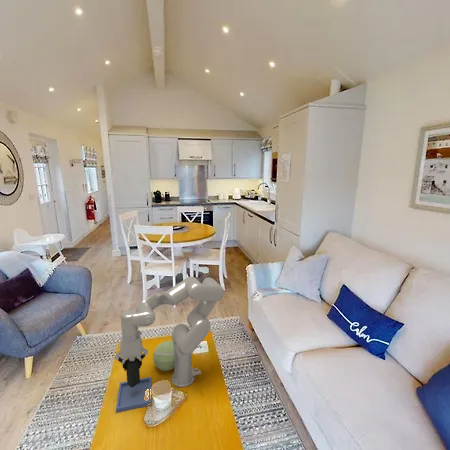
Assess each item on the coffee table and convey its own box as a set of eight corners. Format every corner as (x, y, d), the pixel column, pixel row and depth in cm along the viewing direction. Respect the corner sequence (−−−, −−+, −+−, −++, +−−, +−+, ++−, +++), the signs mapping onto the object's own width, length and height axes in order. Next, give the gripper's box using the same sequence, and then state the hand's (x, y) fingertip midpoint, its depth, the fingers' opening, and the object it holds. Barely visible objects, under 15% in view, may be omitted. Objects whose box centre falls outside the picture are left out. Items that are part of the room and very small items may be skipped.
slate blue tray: (151, 380, 143) (151, 376, 143) (151, 405, 128) (151, 401, 128) (120, 386, 139) (119, 382, 139) (116, 412, 124) (115, 409, 123)
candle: (135, 376, 135) (132, 333, 130) (141, 381, 132) (138, 337, 127) (126, 382, 131) (122, 338, 126) (131, 388, 128) (128, 342, 123)
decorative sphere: (183, 358, 160) (182, 336, 156) (176, 377, 145) (175, 354, 142) (159, 356, 161) (158, 335, 158) (150, 375, 146) (148, 352, 143)
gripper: (149, 328, 132) (150, 359, 136) (112, 333, 128) (115, 365, 131) (149, 337, 125) (150, 370, 129) (109, 343, 121) (112, 376, 124)
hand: (132, 367), depth 130 cm, fingers closed on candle, 6 cm apart
